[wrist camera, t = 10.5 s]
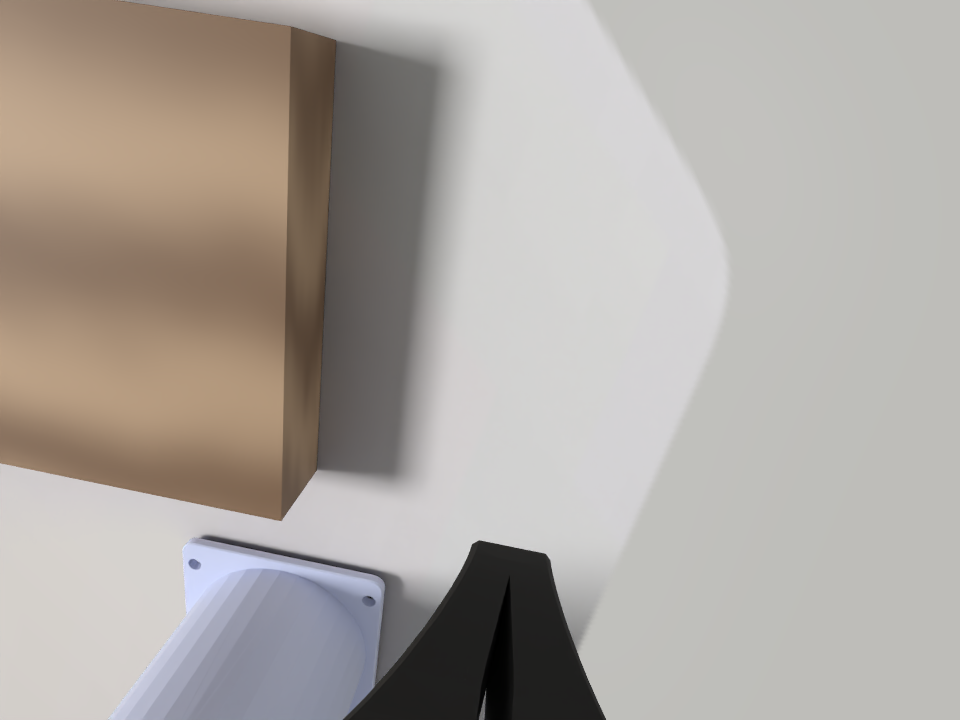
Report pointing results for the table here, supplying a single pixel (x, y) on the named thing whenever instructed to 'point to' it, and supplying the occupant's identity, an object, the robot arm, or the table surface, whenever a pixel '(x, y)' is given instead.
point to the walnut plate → (163, 249)
